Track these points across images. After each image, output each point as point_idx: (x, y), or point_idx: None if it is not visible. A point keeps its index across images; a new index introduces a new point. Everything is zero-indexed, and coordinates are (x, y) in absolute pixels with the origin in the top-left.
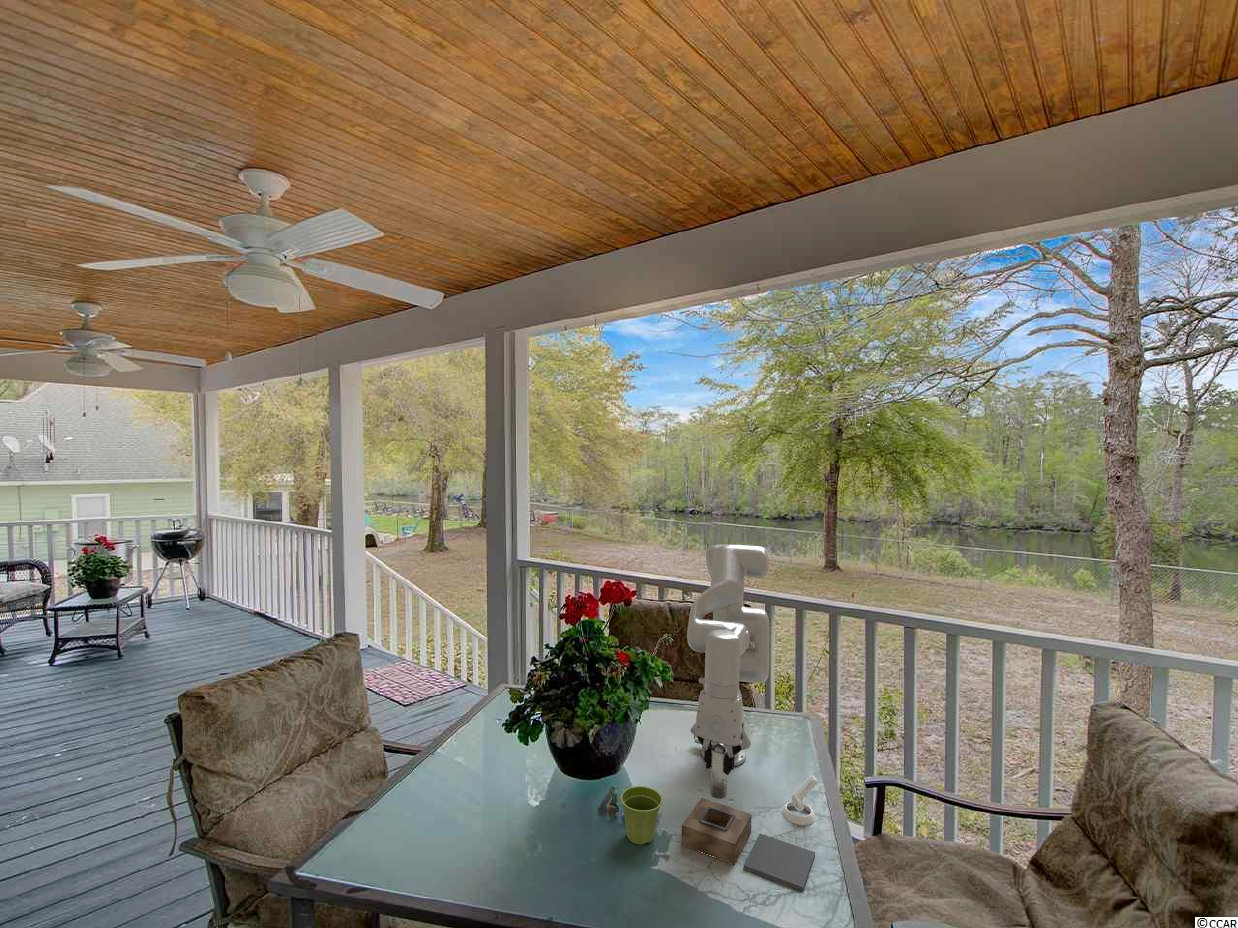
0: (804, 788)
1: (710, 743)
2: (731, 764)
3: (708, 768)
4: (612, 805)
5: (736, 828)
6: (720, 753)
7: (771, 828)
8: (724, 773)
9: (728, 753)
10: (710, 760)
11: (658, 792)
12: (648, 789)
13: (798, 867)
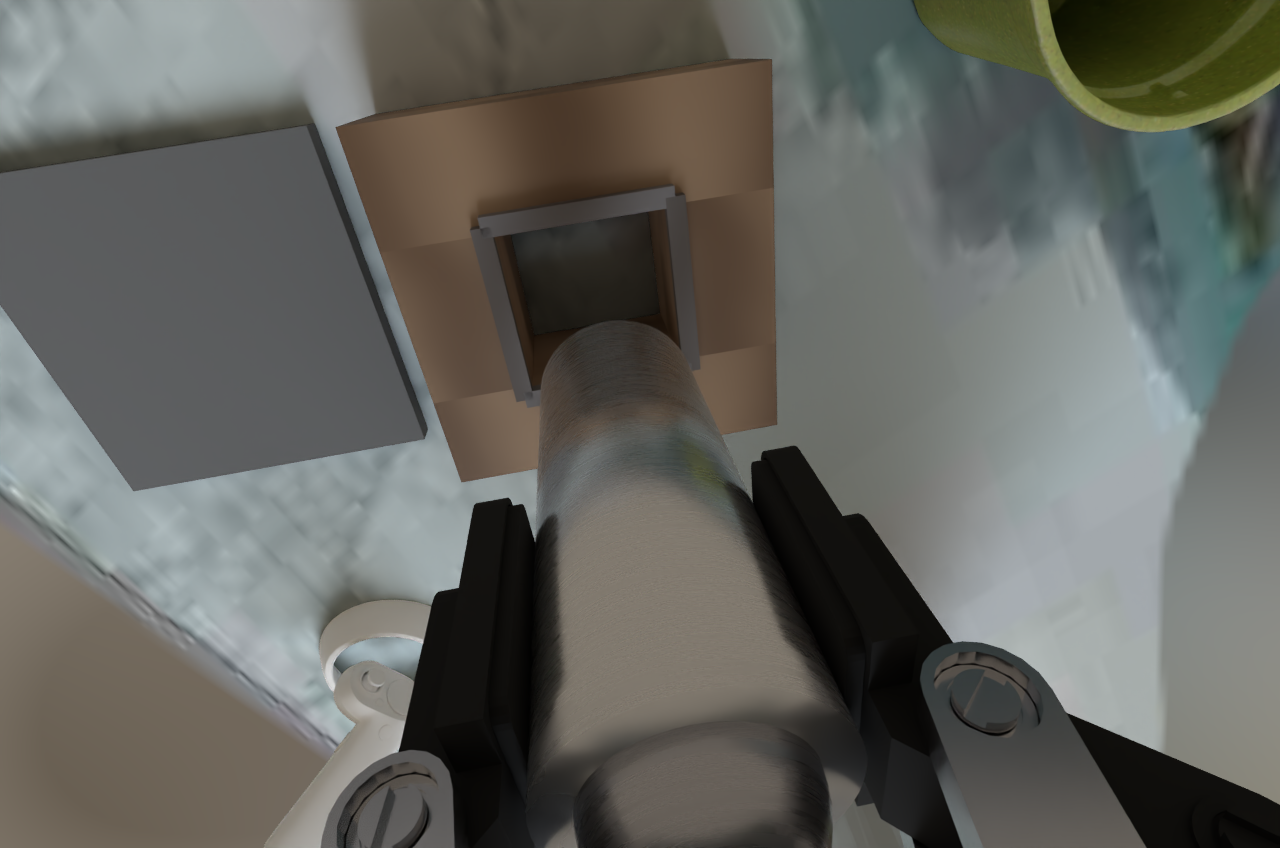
0: (328, 780)
1: (923, 828)
2: (435, 649)
3: (761, 463)
4: (1232, 117)
5: (442, 300)
6: (617, 731)
7: (424, 512)
8: (542, 508)
9: (432, 822)
10: (781, 560)
11: (1095, 113)
12: (1186, 106)
13: (86, 332)
